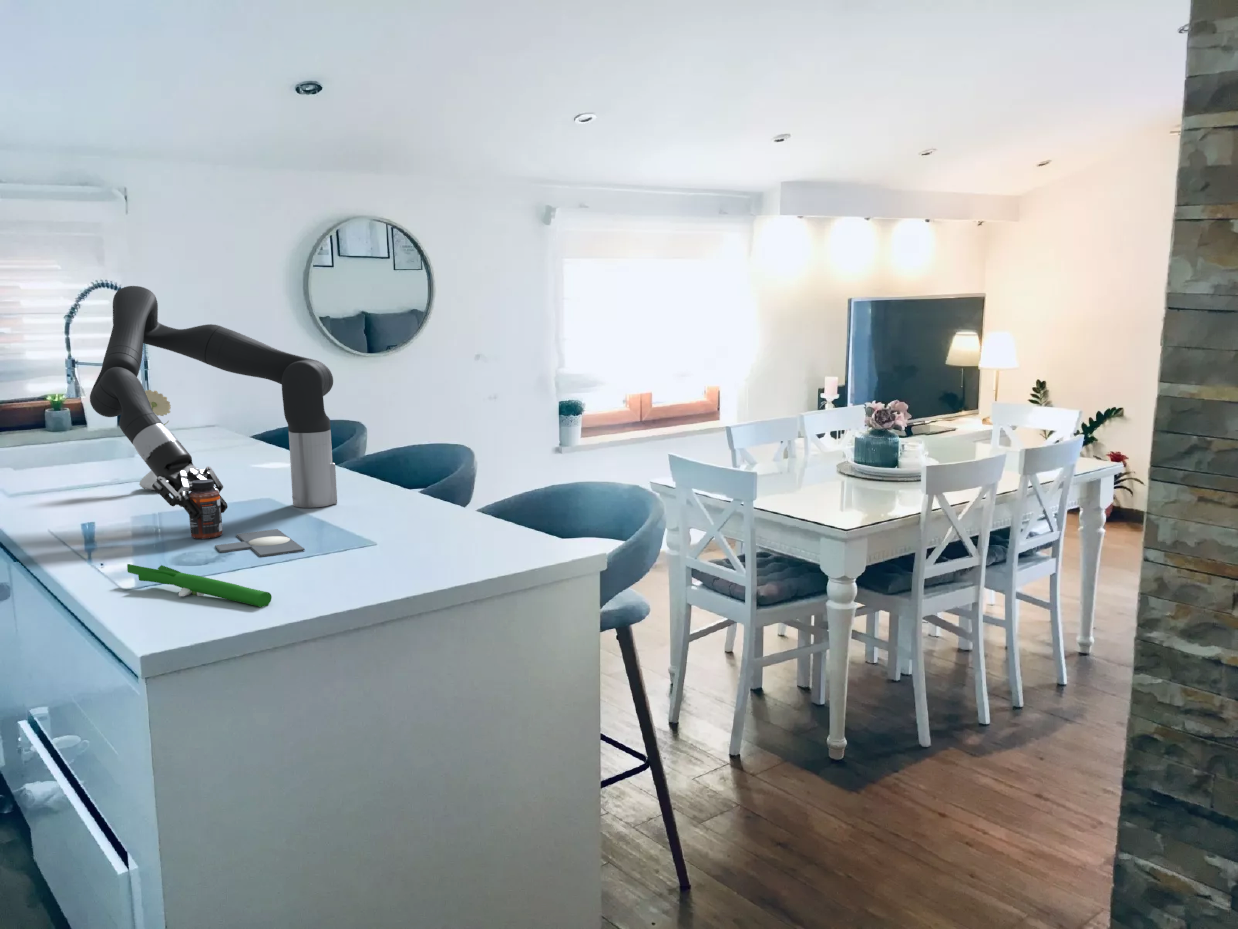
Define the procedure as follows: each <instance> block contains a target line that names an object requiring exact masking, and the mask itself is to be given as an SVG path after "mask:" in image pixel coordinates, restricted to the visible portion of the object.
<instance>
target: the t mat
mask: <svg viewBox="0 0 1238 929" xmlns="http://www.w3.org/2000/svg"><path fill="white" fill-rule="evenodd" d="M235 535H236V537H237V538H238V539H239V540H241V541H237V542H230V543H223V544H215V545H214V548H215V547H216V548H217V549H218V550H219V551H220V552H222V553H228V552H229V551H230V552H235V551H243V549H245V550H252V551H253V552H254V553H255V554H256V555H257V556H259V557H260V558H262V557H263V556H264V557H268V556H269V557H271V556H276V555H278V554H279V555H284V554H283V553H286V554H289V553H288V552H293V553H298V552H297V551H300V552H303V551H302V550H305V548H304V547H303V546H302V545H300V544H299V543H297V542H296V541H295V540H293V539H292V538H290V537H289V536H288V535H286V534H285V533H284V532H282V531H281V530H279V529H278V528H274V529H266V530H257V531H251V532H242V533H236V534H235ZM216 548H215V549H216ZM217 549H216V550H217ZM218 550H217V551H218ZM219 551H218V552H219ZM305 551H306V550H305ZM220 552H219V553H220ZM230 552H229V553H230Z"/></svg>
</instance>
